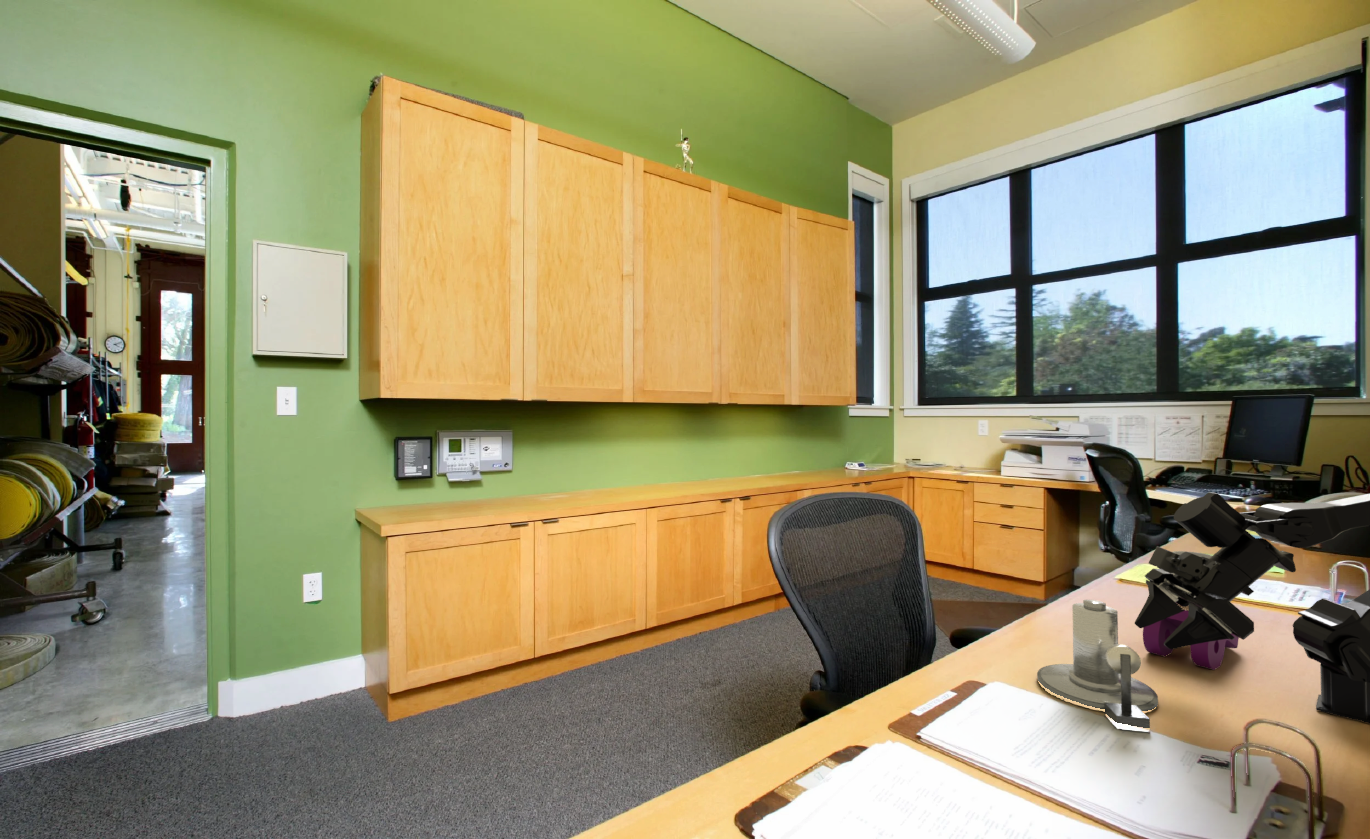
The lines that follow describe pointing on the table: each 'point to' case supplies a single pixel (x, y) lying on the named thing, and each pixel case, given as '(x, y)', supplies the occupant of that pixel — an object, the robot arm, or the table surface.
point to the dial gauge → (1125, 686)
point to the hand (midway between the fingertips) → (1151, 635)
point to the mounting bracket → (1200, 653)
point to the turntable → (1061, 685)
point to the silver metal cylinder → (1094, 646)
